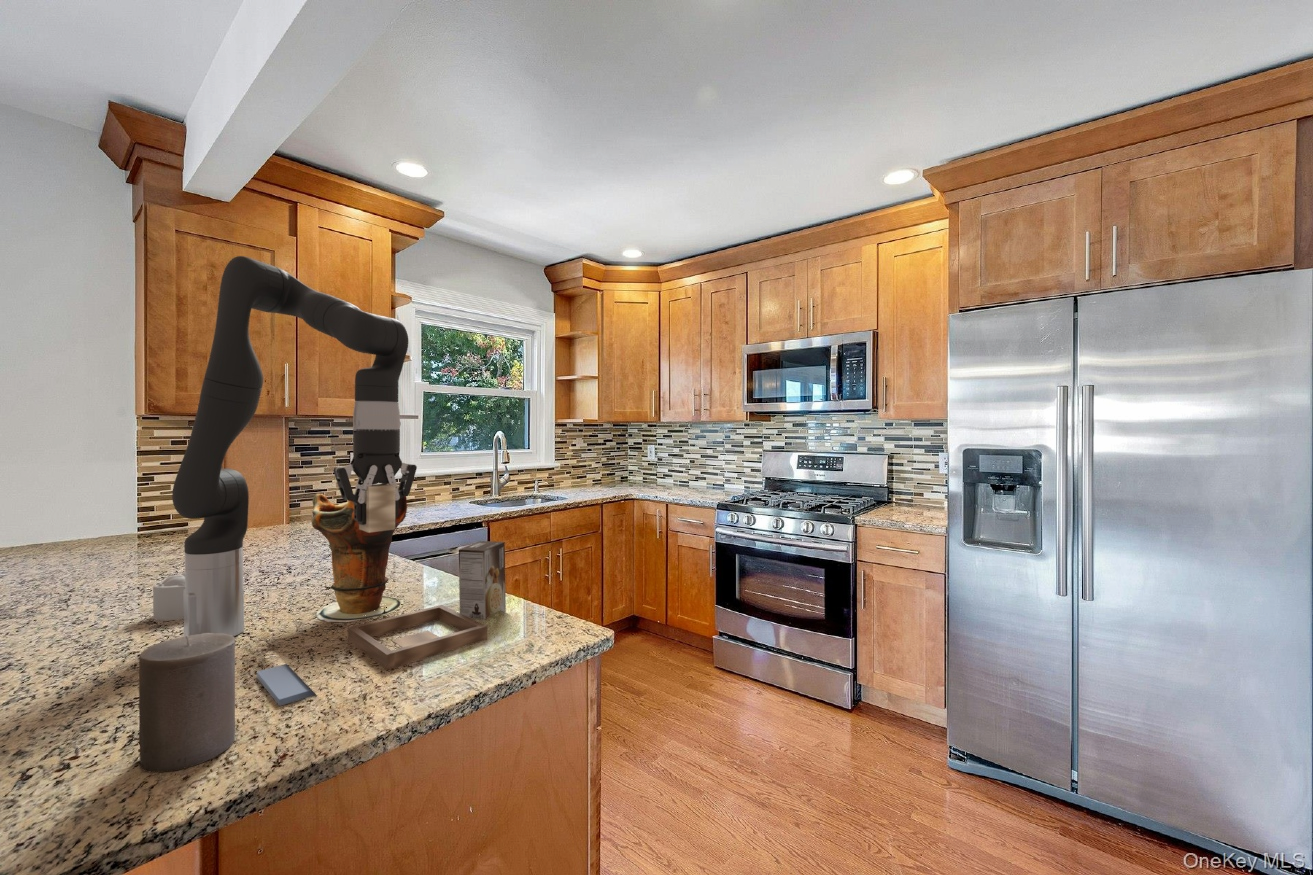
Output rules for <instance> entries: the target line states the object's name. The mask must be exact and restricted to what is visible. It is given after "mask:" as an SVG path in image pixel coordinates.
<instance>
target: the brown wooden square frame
mask: <svg viewBox="0 0 1313 875" xmlns="http://www.w3.org/2000/svg"><path fill="white" fill-rule="evenodd" d="M435 621H441V622H443V623H445V624H446V625H449V626H451V627H452V628H455V629H457V630H458V631H456V632H453V633H450V634H446V635H441V636H439V635H437V634H435V633H433V632H431V631H429V630H424V631H422V632H421V631H420V632H417V633H414V634H409V635H406V636H403V637H399V638H395V639H391V642H393V643H394V644H396V645H398V646H399V647H400V648H397V649H392V650H391V649H390V648H389V647H387V646H385V645H384V644H383V643H381V642H379V641H378V640H377V639H375V638H374V637H377V636H381V635H386V634H388V633H394V632H397V631H400V630H404V629H407V628H408V629H409V628H412V627H416V626H420V625H424V624H427V623H431V622H435ZM486 640H487V641H488V625H486V624H484V623H482V622H479V621H477V620H474V618H469V617H467V616H465V615H462V614H460V612H457V611H456V610H454V609H452V608H449V607H447V606H445V605H443V604H441V605H435V606H433V607H428V608H423V609H420V610H419V609H418V610H415V611H411V612H408V613H402V614H399V615H394V616H391V617H387V618H383V619H378V620H373V621H370V622H366V623H361V624H357V625H353V626H349V627H347V641H348V642H349V643H350V644H352V645H353V646H354V647H356V648H357V649H358V650H359V651H361V652H362V653H363V654H365V655H366V656H367V657H369V658H371V660H373V661H375V662H376V663H377V664H379V665H380V666H381V667H383V668H384V669H385V670H386V671H387V670H388V671H389V670H391V669H395V668H398V667H401V666H404V665H405V666H406V665H408V664H412V663H415V662H417V661H420V660H424V659H427V658H430V657H434V656H437V655H438V656H439V655H442V654H444V653H447V652H450V651H454V650H457V649H461V648H463V647H468V646H469V645H474V644H476V643H477V644H478V643H480V642H483V641H486Z"/></svg>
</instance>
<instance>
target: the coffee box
mask: <svg viewBox="0 0 1313 875" xmlns="http://www.w3.org/2000/svg"><path fill="white" fill-rule="evenodd" d="M505 546H506V541H486V540H485V541H484V540H483V541H482V540H479V541H478V542H477V541H476V542H475V543H472V544H469V545H467V546H465V547H462V548H460V549H459V548H458V584H459V585H458V586H459V587H458V588H459V591H458V592H459V593H458V594H459V596H458V597H459V598H458V599H459V613H460V614H462V615H465V616H467V617H469V618H471V619H478V620H479V619H480V620H487V619H488V618H490V617H492V616H494V615H495V614H496V613H498V612H499V611H501V612H504V613H506V610H507V609H506V608H507V606H506V604H507V603H506V601H507V600H506V596H507V595H506V547H505Z"/></svg>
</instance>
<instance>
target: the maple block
mask: <svg viewBox="0 0 1313 875" xmlns="http://www.w3.org/2000/svg"><path fill="white" fill-rule="evenodd" d="M365 504H366V524H365V525H360V524H359V529H360V530H363V531H366V532H369V533H370V532H378V531H386V530H394V529H395V485H389V484H382V483H377V484H372V485H371V486H369V487H368V490H367V497H366V500H365ZM395 530H396V529H395Z"/></svg>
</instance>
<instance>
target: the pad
mask: <svg viewBox="0 0 1313 875" xmlns="http://www.w3.org/2000/svg"><path fill="white" fill-rule="evenodd" d="M256 679H257V680H258V681H259V682H260V683H261V685H262V686H263V687H264V689H265V690H266V691H267V692H268V694H269V695H270V697H272V699H274V702H276V704H277V705H278V706H279V707H281V706H285V705H288V704H291V703H294V702H298V701H300V700H304V699H308V698H310V697H314V696H316V695H317V694H316V692H315V691H314V690H312V688H311V687H310V686H309V685H307V683H306V682H305V681H304V680H303V679H302V678H301V677H300V676H299V675H298V674H297V672H296V671H294V670H293V669H292V668H291V667H290V666H289V664H288V663H284V664H281V665H277V666H273V667H270V668H269V667H268V668H265V669H262V670H258V671H256Z"/></svg>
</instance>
